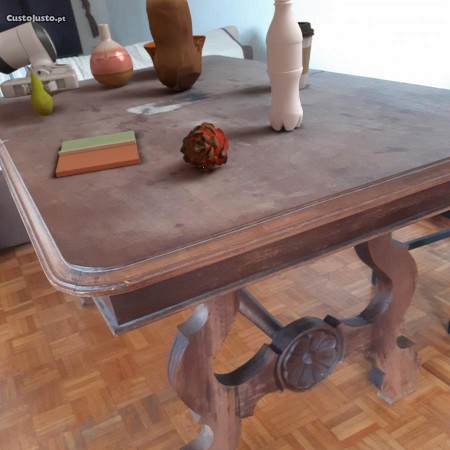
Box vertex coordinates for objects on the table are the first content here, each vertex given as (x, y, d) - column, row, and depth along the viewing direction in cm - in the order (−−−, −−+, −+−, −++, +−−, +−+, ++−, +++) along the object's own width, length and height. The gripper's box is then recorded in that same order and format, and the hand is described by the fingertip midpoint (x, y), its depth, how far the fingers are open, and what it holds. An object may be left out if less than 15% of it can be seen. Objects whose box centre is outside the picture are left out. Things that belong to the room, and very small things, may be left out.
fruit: (50, 118, 124) (35, 68, 117) (30, 119, 125) (14, 69, 118) (60, 112, 128) (46, 63, 121) (41, 112, 130) (26, 65, 122)
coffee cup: (314, 80, 133) (315, 19, 125) (313, 90, 124) (314, 25, 116) (274, 83, 136) (272, 23, 127) (270, 93, 127) (267, 29, 118)
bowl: (136, 76, 164) (130, 44, 159) (184, 63, 175) (179, 33, 169) (173, 81, 151) (168, 47, 145) (221, 67, 162) (218, 34, 156)
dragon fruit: (208, 189, 82) (203, 174, 93) (244, 154, 80) (235, 143, 91) (173, 153, 79) (172, 142, 90) (209, 116, 77) (204, 109, 88)
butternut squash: (173, 84, 148) (159, -11, 133) (211, 84, 143) (201, -15, 128) (149, 96, 138) (131, -5, 124) (189, 96, 133) (175, -9, 118)
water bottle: (264, 132, 100) (258, -8, 85) (274, 122, 105) (269, -12, 91) (298, 133, 97) (297, -11, 83) (306, 122, 103) (306, -15, 88)
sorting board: (57, 177, 90) (54, 168, 89) (63, 146, 106) (61, 138, 105) (139, 163, 92) (138, 154, 91) (134, 134, 108) (132, 126, 107)
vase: (111, 80, 163) (98, 22, 152) (144, 80, 157) (133, 19, 147) (86, 90, 153) (70, 28, 143) (120, 91, 148) (106, 26, 137)
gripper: (1, 73, 130) (-9, 83, 119) (76, 63, 132) (73, 71, 121) (9, 97, 134) (1, 109, 123) (82, 87, 136) (80, 97, 125)
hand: (37, 90), depth 122 cm, fingers closed on fruit, 4 cm apart
